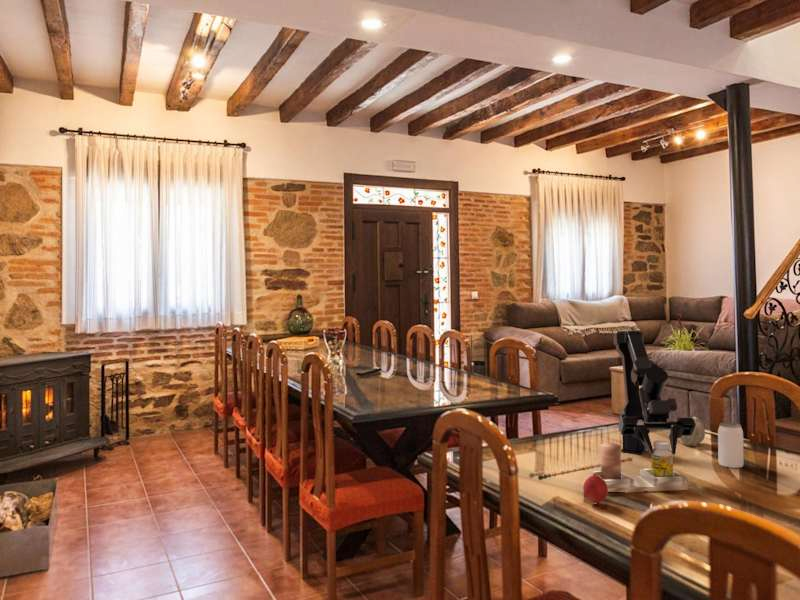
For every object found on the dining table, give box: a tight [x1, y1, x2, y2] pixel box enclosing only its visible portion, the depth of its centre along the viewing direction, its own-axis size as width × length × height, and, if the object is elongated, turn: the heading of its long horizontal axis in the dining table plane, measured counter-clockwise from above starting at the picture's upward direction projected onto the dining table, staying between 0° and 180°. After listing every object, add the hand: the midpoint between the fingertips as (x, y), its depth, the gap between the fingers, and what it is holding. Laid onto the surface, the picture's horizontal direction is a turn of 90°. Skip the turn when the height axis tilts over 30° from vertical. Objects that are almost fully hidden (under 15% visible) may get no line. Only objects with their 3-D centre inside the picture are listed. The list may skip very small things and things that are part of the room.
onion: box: [582, 473, 609, 504], centre depth 151 cm, size 6×6×8 cm
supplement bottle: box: [650, 440, 674, 477], centre depth 164 cm, size 5×5×10 cm
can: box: [717, 422, 744, 469], centre depth 179 cm, size 6×6×12 cm
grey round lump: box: [679, 416, 706, 447], centre depth 203 cm, size 9×8×10 cm
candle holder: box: [589, 442, 689, 493], centre depth 163 cm, size 24×9×11 cm, turn 93°
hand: (663, 453), depth 163 cm, fingers closed on supplement bottle, 5 cm apart
